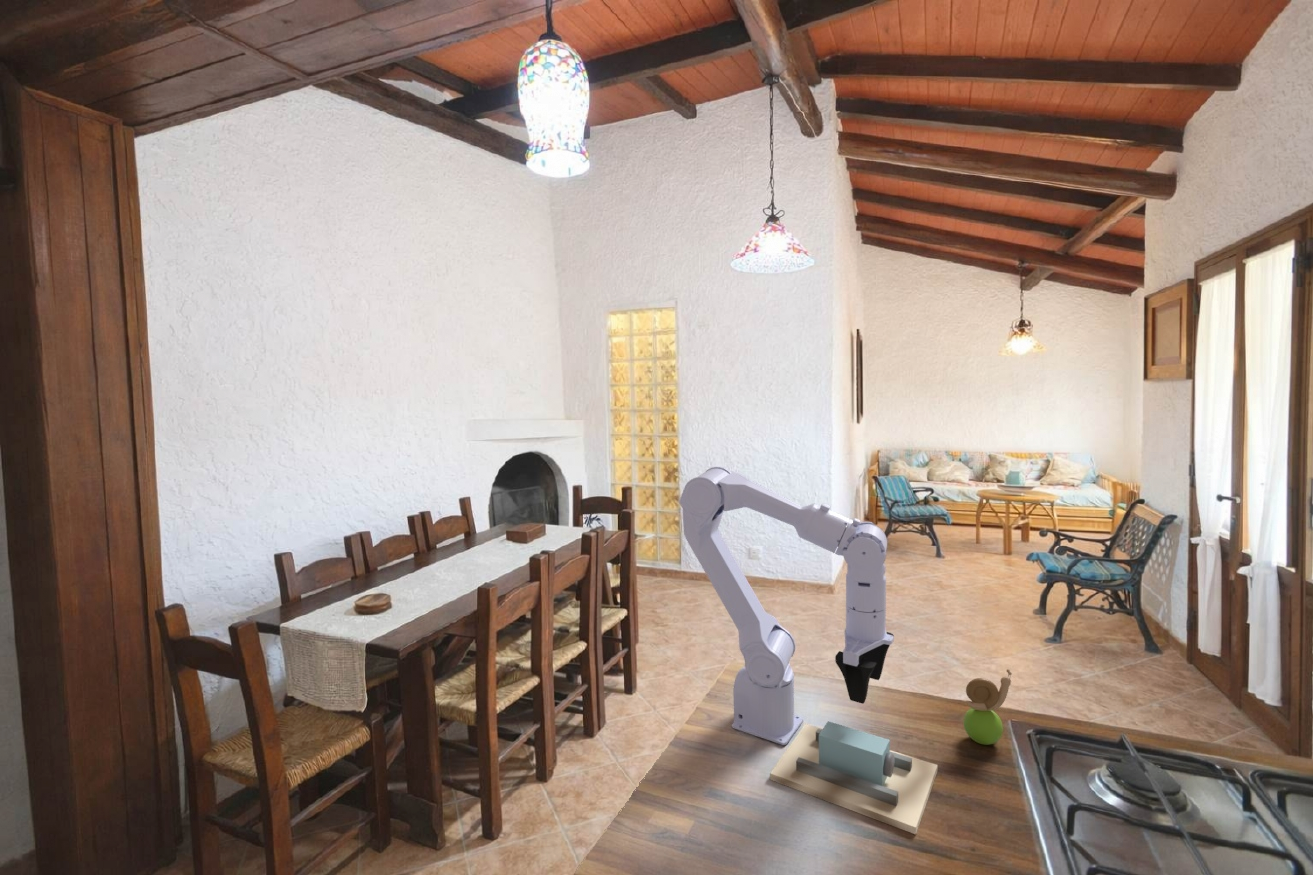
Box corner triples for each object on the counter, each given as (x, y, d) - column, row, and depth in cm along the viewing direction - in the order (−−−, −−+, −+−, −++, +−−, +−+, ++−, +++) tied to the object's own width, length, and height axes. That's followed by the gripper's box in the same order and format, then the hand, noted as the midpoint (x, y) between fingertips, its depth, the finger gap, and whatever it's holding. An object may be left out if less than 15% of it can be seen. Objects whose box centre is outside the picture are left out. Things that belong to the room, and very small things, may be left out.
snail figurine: (1014, 754, 94) (1017, 679, 92) (968, 750, 95) (970, 676, 94) (1002, 732, 99) (1005, 661, 98) (959, 729, 101) (960, 659, 99)
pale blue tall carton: (818, 766, 92) (818, 734, 91) (828, 751, 95) (828, 720, 94) (888, 790, 86) (888, 757, 86) (895, 773, 89) (895, 741, 89)
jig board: (770, 779, 91) (769, 763, 91) (805, 729, 102) (805, 714, 102) (915, 834, 80) (916, 816, 79) (937, 771, 91) (937, 755, 91)
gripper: (878, 629, 86) (878, 720, 88) (905, 593, 98) (904, 674, 100) (828, 618, 90) (829, 705, 92) (860, 585, 102) (860, 663, 104)
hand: (865, 688), depth 96 cm, fingers open, 7 cm apart
